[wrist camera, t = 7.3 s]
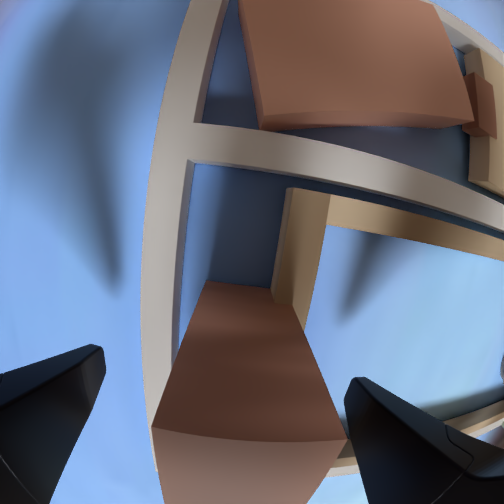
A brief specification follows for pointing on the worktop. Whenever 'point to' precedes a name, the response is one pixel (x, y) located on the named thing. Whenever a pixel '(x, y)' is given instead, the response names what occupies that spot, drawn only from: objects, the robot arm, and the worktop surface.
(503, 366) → the coffee cup
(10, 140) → the worktop surface
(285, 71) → the reddish brown block
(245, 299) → the tan rectangular frame
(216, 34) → the lane tray
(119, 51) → the worktop surface
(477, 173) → the tan long flat piece
